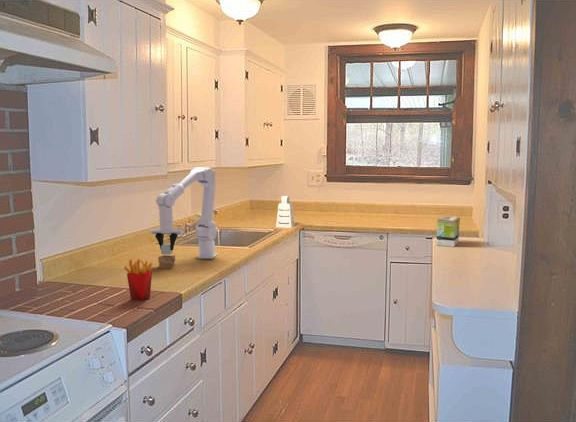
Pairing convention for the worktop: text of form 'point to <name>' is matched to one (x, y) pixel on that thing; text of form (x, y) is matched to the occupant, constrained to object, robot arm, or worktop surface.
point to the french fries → (139, 279)
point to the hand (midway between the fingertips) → (167, 249)
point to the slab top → (166, 258)
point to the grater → (285, 213)
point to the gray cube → (166, 249)
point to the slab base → (166, 265)
